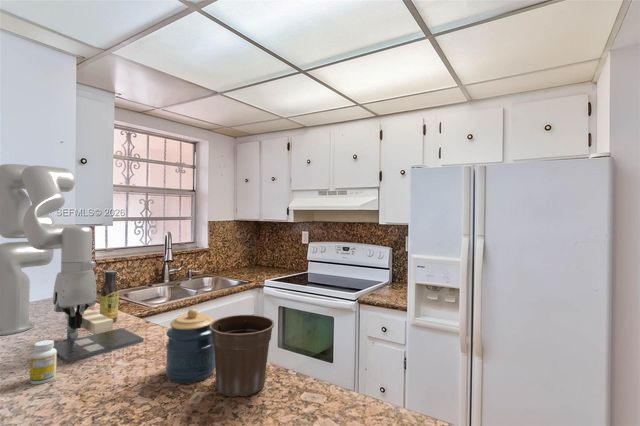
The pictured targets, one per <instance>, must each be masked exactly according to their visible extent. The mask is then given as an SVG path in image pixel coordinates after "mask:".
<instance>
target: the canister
mask: <svg viewBox="0 0 640 426" xmlns="http://www.w3.org/2000/svg"><path fill="white" fill-rule="evenodd" d="M213 321H215V320H214V319H213V317H211V316H209V315H208V314H206V313H201V312H198V311H197V309H196V308H190V309H189V310H188V311H187V313H184V314H182V315H179V316H177V317H175V318H174V319H173V320H171V322H170V323H169V325H170V328H168V329H167V330H166V336H167V337H168V339H167V340H168V341H167V343H166V345H165V346H166V366H165V374H166V378H167V379H168V380H169V381H170V382H173V383H176V384H191V382H192V383H196V381H197V382H200V381H203V380H205V379H208V378H209V377H210V376H211V375H213V374H214V372H215V371H216V370H215V352H214V344H213V341H212V331H211V329H210V324H211V323H212V322H213Z"/></svg>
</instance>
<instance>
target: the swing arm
mask: <svg viewBox="0 0 640 426" xmlns="http://www.w3.org/2000/svg"><path fill="white" fill-rule="evenodd" d="M76 307H77V305H76V306H74V308H75V312H76ZM64 315H65V316H64V317H65V318H64V319H66V320H67V319H68V320H69V315H67V314H66V313H65V312H64ZM81 328H82V329H85V330H86V331H88V332H90V333H92V334H93V335H94V334H98V333H102V332H106V331H111V330H114V322H113V319H110V318H108V317H106V316H104V315H102V314H100V312H96V311H94V310H93V309H90V308H89V307H88V308H87V309H86V310H85V311H84V314H82V324H81Z"/></svg>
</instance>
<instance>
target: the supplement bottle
mask: <svg viewBox="0 0 640 426" xmlns="http://www.w3.org/2000/svg"><path fill="white" fill-rule="evenodd" d="M54 344H55V341H54V340H52V339H45V340H41V341H37V342H35V343H34V345H33V349H34V351H33V352H32V353H31V354H30V367H29V370H30V371H29V373H30V374H29V382H30V383H31V384H32V385H41V384H46V383H49V382H51V381H53V380H54V379H55V378H56V377H57V360H58V359H57V358H58V357H57V350H56V349H55V348H53V347H54Z"/></svg>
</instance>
